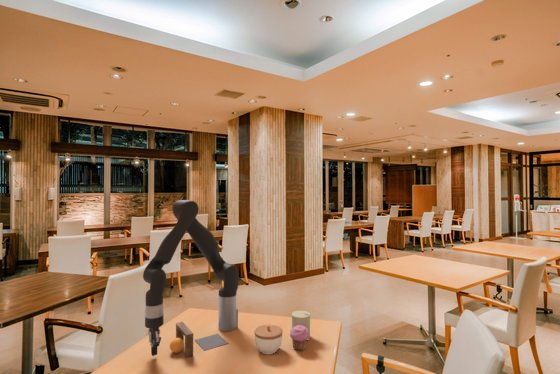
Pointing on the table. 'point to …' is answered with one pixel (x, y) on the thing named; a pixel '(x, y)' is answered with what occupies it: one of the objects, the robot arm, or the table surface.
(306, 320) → the can
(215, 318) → the table surface
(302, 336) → the cupcake
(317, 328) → the table surface
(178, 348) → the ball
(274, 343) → the lidded bowl
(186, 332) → the bridge
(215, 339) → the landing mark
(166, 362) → the table surface
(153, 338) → the robot arm
